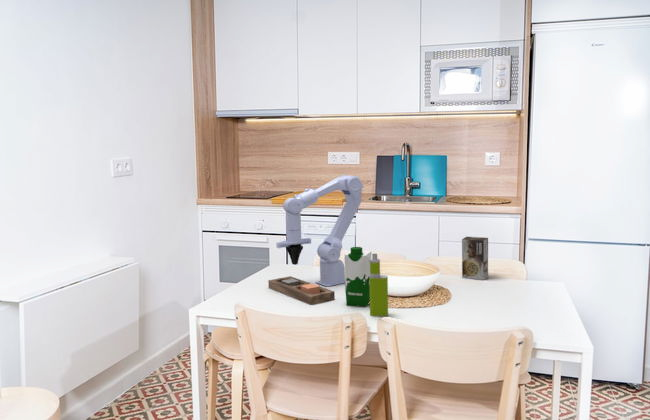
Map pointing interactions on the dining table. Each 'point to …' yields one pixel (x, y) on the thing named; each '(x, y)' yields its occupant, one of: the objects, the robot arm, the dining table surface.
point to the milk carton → (357, 277)
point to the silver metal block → (290, 282)
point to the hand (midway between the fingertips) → (294, 264)
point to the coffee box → (475, 258)
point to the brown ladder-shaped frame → (298, 293)
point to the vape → (378, 289)
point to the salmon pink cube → (311, 288)
